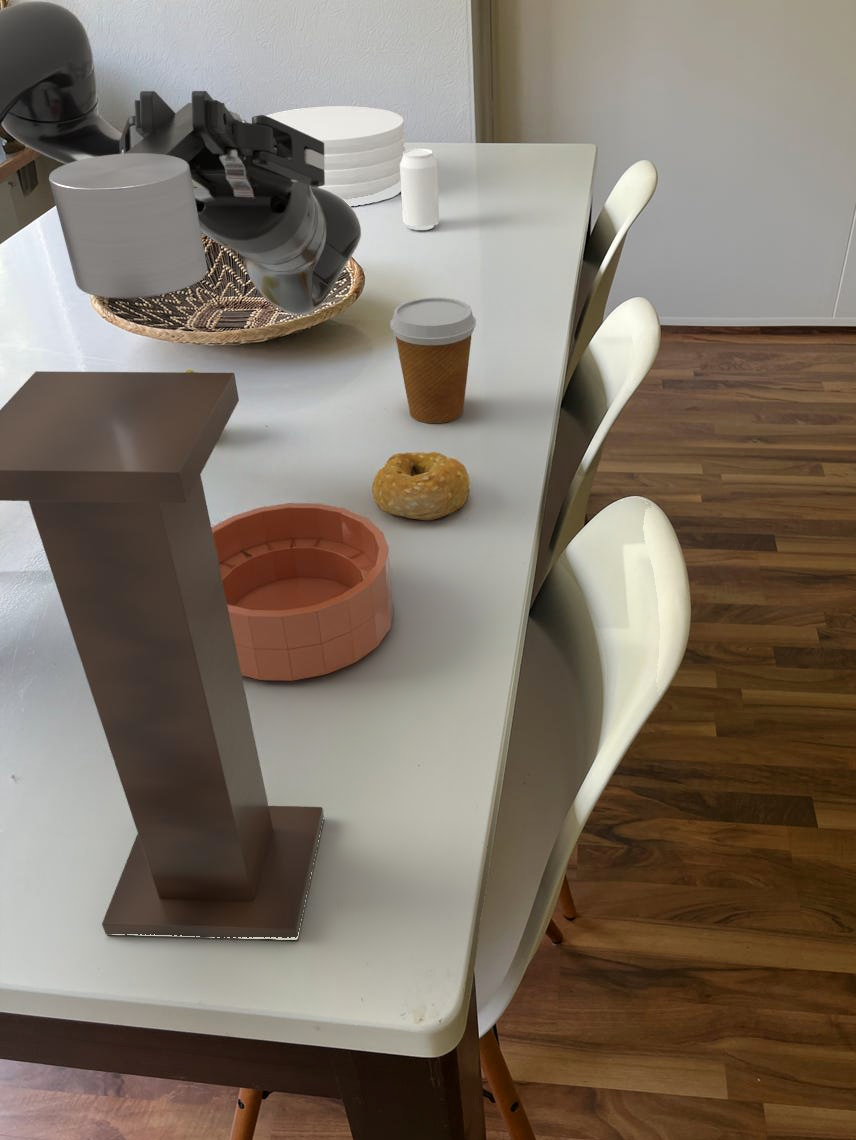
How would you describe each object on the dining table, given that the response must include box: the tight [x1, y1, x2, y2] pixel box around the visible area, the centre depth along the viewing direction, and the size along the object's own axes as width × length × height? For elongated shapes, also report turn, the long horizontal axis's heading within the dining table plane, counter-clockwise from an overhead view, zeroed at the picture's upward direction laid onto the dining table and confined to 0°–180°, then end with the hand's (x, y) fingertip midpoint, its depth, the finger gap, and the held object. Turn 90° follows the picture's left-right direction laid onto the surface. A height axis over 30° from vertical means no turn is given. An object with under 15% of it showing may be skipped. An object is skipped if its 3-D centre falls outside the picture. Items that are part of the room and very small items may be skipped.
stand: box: [0, 370, 325, 938], centre depth 57 cm, size 12×10×32 cm
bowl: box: [211, 502, 395, 682], centre depth 86 cm, size 17×17×7 cm
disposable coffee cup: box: [389, 296, 477, 424], centre depth 116 cm, size 10×10×12 cm
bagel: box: [371, 451, 471, 521], centre depth 102 cm, size 10×11×5 cm
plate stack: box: [265, 105, 406, 201], centre depth 192 cm, size 28×28×12 cm
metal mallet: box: [48, 102, 226, 300], centre depth 55 cm, size 6×19×5 cm, turn 178°
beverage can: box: [400, 148, 440, 227], centre depth 172 cm, size 6×6×12 cm
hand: (172, 110), depth 55 cm, fingers closed on metal mallet
